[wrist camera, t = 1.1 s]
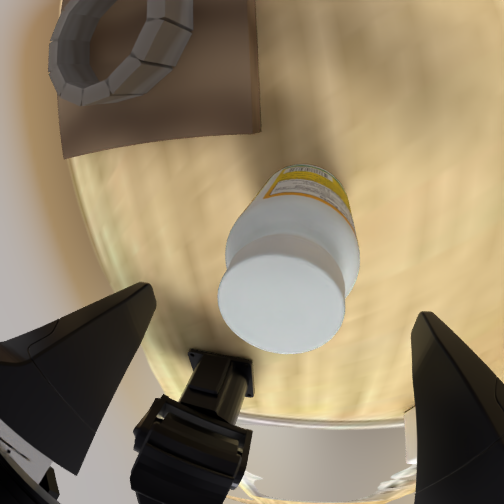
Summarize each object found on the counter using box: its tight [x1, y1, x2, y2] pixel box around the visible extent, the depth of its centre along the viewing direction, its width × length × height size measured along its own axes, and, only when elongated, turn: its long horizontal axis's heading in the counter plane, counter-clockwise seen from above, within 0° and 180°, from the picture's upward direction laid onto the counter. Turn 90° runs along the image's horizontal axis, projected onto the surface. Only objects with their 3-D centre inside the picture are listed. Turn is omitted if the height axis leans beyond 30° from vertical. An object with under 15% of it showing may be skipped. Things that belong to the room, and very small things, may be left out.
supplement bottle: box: [218, 164, 360, 354], centre depth 12 cm, size 5×5×10 cm
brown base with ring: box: [48, 0, 261, 159], centre depth 11 cm, size 15×15×5 cm
